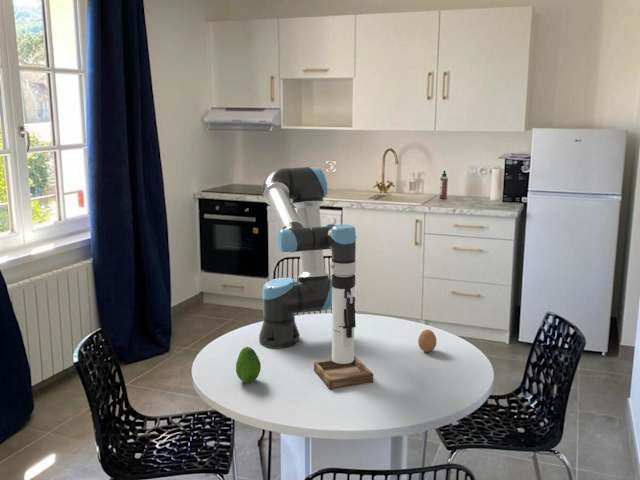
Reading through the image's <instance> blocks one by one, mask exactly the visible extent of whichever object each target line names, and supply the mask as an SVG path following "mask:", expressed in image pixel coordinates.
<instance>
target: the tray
mask: <svg viewBox="0 0 640 480" xmlns="http://www.w3.org/2000/svg"><path fill="white" fill-rule="evenodd" d="M313 371H314V372H315V374H316V375H317V376H318V378H319V379H320V380H321V381H322V382H323V384H324V385H325V386H326V387H327V388H328V390H330V391H331V390H336V389H337V390H338V389H342V388H347V387H354V386H355V387H356V386H361V385H366V384H373V383H374V373H373V372H372V370H371V369H369V368H368V367H367V366H366V365H365V364H364V363H363V362H362V361H361V360H360V359H359V358H358V357H357V356H356V355H354V361H353V362H351V363H348V364H339V363H335V362H333V361H332V359H329V360H322V361H315V362H313Z"/></svg>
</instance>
